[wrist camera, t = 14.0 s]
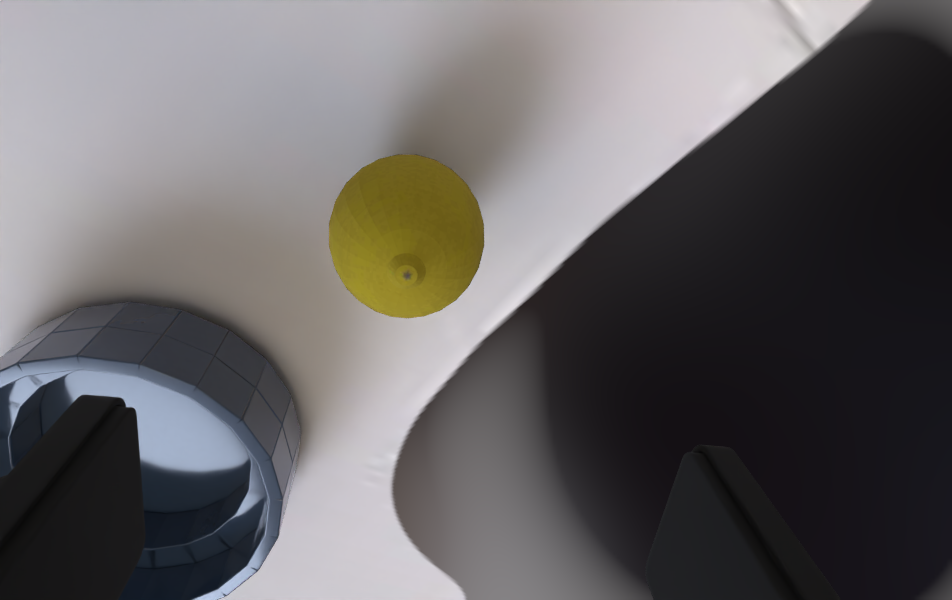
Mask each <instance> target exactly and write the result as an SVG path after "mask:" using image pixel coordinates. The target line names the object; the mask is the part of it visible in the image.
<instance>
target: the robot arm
mask: <svg viewBox="0 0 952 600" xmlns="http://www.w3.org/2000/svg"><path fill="white" fill-rule="evenodd" d="M144 544H145V520H144V506H143V493H142V479H141V465H140V452H139V438H138V424H137V414H136V410H135V409H134V408H133V407H126V404H125V401H124V399H122V398H121V397H110V396H98V395H86V394H85V395H81V396H79V397H78V398H77V399H76V400H75V401H74V402H73V403H72V404H71V405H70V407H69V408H68V409H67V410H66V411H65V412H64V413H63V414H62V415H61V416H60V418H59V419H58V420H57V421H56V422H55V423H54V424H53V425H52V426H51V428H50V429H49V430H48V431H47V432H46V433H45V434H44V435H43V436H42V437H41V439H40V440H39V441H38V442H37V443H36V444H35V445H34V446H33V447H32V448H31V450H30V451H29V452H28V453H27V454H26V455H25V456H24V457H23V458H22V459H21V461H20V462H19V463H18V464H17V465H16V466H15V467H14V468H13V469H12V470H11V472H10V473H9V474H8V475H5V476H2V477H0V600H118V599H119V597H120V596H121V594H122V592H123V590H124V588H125V586H126V584H127V582H128V580H129V578H130V576H131V575H132V573H133V571H134V569H135V567H136V565H137V563H138V561H139V559H140V557H141V555H142V551H143V548H144ZM646 579H647V583H648V586H649V589H650V591H651V594H652V596H653V599H654V600H841V599H840V598H839V596H838V595H837V594H836V592H835V591H834V589H833V588H832V587H831V585H830V584H829V582H828V581H827V580H826V578H825V577H824V575H823V574H822V573H821V571H820V570H819V568H818V567H817V566H816V564H815V563H814V562H813V560H812V559H811V557H810V556H809V554H808V553H807V552H806V550H805V549H804V548H803V546H802V545H801V543H800V542H799V541H798V539H797V538H796V536H795V535H794V534H793V532H792V531H791V529H790V528H789V527H788V525H787V524H786V522H785V521H784V520H783V518H782V517H781V516H780V514H779V513H778V511H777V510H776V508H775V507H774V506H773V504H772V503H771V502H770V500H769V499H768V497H767V496H766V495H765V493H764V492H763V490H762V489H761V488H760V486H759V485H758V483H757V482H756V481H755V479H754V478H753V476H752V475H751V474H750V472H749V471H748V469H747V468H746V467H745V465H744V464H743V463H742V461H741V460H740V459H739V457H738V456H737V454H736V453H735V452H734V451H733V450H732V449H731V448H728V447H720V446H719V447H718V446H706V445H698V446H696V447H695V448H694V449H693V451H692V452H688V453H686V454H685V455H684V457H683V459H682V461H681V464H680V467H679V470H678V473H677V476H676V479H675V482H674V485H673V487H672V490H671V493H670V496H669V499H668V502H667V505H666V508H665V511H664V513H663V516H662V519H661V522H660V525H659V528H658V531H657V534H656V536H655V539H654V542H653V545H652V548H651V551H650V554H649V557H648V559H647V564H646Z"/></svg>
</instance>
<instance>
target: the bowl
mask: <svg viewBox="0 0 952 600" xmlns="http://www.w3.org/2000/svg"><path fill="white" fill-rule="evenodd" d="M85 394H86V395H98V396H110V397H121V398H122V399H124V401H125V404H126V407H133V408H134V409H135V410H136V414H137V424H138V438H139V452H140V465H141V479H142V493H143V506H144V520H145V544H144V548H143V551H142V555H141V557H140V559H139V561H138V563H137V565H136V567H135V569H134V571H133V573H132V575H131V576H130V578H129V580H128V582H127V584H126V586H125V588H124V590H123V592H122V594H121V596H120V597H119V599H118V600H218V599H221V598H223V597H225V596H226V595H229V594H230V593H231V592H232V591H234V590H235V589H236V588H237V587H239V586H240V585H241V584H242V583H243V582H245V581H246V580H247V579H248V578H250V577H251V576H252V575H253V574H255V573H256V572H257V571H258V570H259V569H260V567H261V566H262V564H263V562H264V561H265V559H266V557H267V556H268V554H269V552H270V551H271V549H272V547H273V546H274V544H275V542H276V540H277V539H278V536H279V533H280V529H281V525H282V521H283V518H284V514H285V510H286V506H287V502H288V498H289V494H290V491H291V487H292V483H293V479H294V475H295V471H296V467H297V461H298V453H299V446H300V438H301V430H300V426H299V423H298V419H297V415H296V411H295V407H294V404H293V400H292V397H291V394H290V393H289V391H288V390H287V388H286V387H285V385H284V384H283V382H282V381H281V379H280V378H279V377H278V375H277V374H276V372H275V371H274V369H273V368H272V366H271V365H270V363H269V362H268V361H267V359H266V358H264V357H263V356H262V355H261V354H259V353H258V352H257V351H255V350H254V349H253V348H252V347H250V346H249V345H248V344H247V343H245V342H244V341H243V340H242V339H240V338H239V337H238V336H237V335H235V334H234V333H233V332H232V331H229V330H228V329H226V328H223V327H221V326H219V325H216V324H214V323H212V322H209V321H207V320H205V319H202V318H200V317H198V316H195V315H193V314H191V313H188V312H186V311H183V310H181V309H175V308H168V307H161V306H155V305H148V304H141V303H135V302H124V303H116V304H108V305H100V306H92V307H84V308H79V309H76V310H74V311H71V312H69V313H67V314H65V315H63V316H61V317H58V318H56V319H54V320H52V321H50V322H48V323H45V324H43V325H41V326H39V327H37V328H36V329H34V330H33V331H32V332H31V333H30V334H29V335H27V336H26V337H25V338H24V339H23V340H21V341H20V342H19V343H18V344H17V345H15V346H14V347H13V348H12V349H11V350H9V351H8V352H7V353H6V354H5V355H3V356H2V357H1V358H0V477H2V476H5V475H8V474H9V473H10V472H11V470H12V469H13V468H14V467H15V466H16V465H17V464H18V463H19V462H20V461H21V459H22V458H23V457H24V456H25V455H26V454H27V453H28V452H29V451H30V450H31V448H32V447H33V446H34V445H35V444H36V443H37V442H38V441H39V440H40V439H41V437H42V436H43V435H44V434H45V433H46V432H47V431H48V430H49V429H50V428H51V426H52V425H53V424H54V423H55V422H56V421H57V420H58V419H59V418H60V416H61V415H62V414H63V413H64V412H65V411H66V410H67V409H68V408H69V407H70V405H71V404H72V403H73V402H74V401H75V400H76V399H77V398H78V397H79V396H81V395H85Z"/></svg>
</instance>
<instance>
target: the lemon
mask: <svg viewBox="0 0 952 600" xmlns="http://www.w3.org/2000/svg"><path fill="white" fill-rule="evenodd" d="M329 247H330V251H331V255H332V259H333V263H334V266H335V269H336V271H337V273H338V275H339V276H340V278H341V280H342V282H343V283H344V285H345V287H346V288H347V289H348V290H349V291H350V292H351V293H352V294H353V295H354V296H355V297H356V298H357V299H358V301H360V302H361V303H363V304H365V305H366V306H368V307H369V308H371V309H373V310H374V311H377V312H379V313H382V314H385V315H388V316H391V317H401V318H414V317H422V316H426V315H429V314H432V313H434V312H437V311H440V310H442V309H443V308H445V307H446V306H448V305H449V304H451V303H452V302H454V301H455V300H456V299H457V298H458V297H459V296H460V295H461V294H462V293H463V292H464V291H465V290H466V289H467V287H468V286H469V285H470V283H471V281H472V279H473V277H474V275H475V274H476V272H477V270H478V268H479V264H480V260H481V256H482V252H483V248H484V223H483V219H482V216H481V212H480V209H479V205H478V202H477V200H476V199H475V197H474V195H473V194H472V192H471V190H470V189H469V187H468V185H467V184H466V183H465V182H464V181H463V180H462V179H461V178H460V177H459V176H458V175H457V174H456V173H455V172H454V171H453V170H452V169H450V168H448V167H446V166H445V165H443V164H441V163H439V162H438V161H436V160H433V159H430V158H426V157H423V156H419V155H394V156H390V157H386V158H381V159H378V160H376V161H375V162H373V163H371V164H369V165H367V166H365V167H363V168H362V169H361V170H359V171H358V172H357V173H356V174H355V175H354V176H353V177H352V178H351V179H350V180H349V181H348V182H347V183H346V184H345V186H344V188H343V189H342V191H341V193H340V194H339V196H338V198H337V199H336V201H335V204H334V208H333V211H332V215H331V218H330V222H329Z"/></svg>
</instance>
